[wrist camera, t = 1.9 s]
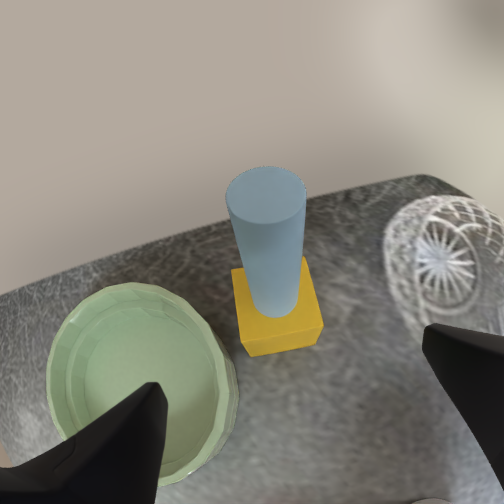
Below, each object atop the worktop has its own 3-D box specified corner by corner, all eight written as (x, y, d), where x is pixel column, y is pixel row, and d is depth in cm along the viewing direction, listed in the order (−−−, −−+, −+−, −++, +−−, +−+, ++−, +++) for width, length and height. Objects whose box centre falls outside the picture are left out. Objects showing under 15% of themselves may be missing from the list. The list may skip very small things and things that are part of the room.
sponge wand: (315, 344, 20) (360, 236, 8) (250, 357, 20) (196, 267, 8) (301, 287, 22) (313, 142, 11) (241, 298, 22) (194, 162, 11)
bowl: (223, 497, 13) (207, 517, 10) (67, 435, 16) (34, 432, 12) (253, 317, 21) (246, 295, 18) (102, 294, 24) (76, 272, 20)
